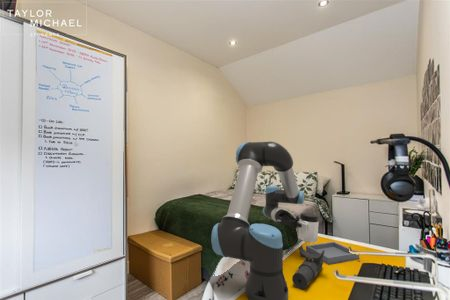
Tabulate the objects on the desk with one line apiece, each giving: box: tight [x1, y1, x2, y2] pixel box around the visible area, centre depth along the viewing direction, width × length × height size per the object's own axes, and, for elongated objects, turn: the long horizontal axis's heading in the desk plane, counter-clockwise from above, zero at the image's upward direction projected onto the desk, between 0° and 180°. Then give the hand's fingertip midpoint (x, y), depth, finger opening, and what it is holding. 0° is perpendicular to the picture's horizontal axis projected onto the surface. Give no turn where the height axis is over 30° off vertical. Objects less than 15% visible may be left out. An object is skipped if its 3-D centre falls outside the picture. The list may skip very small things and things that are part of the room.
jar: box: [297, 212, 320, 244], centre depth 114 cm, size 9×8×12 cm
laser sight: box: [291, 245, 325, 290], centre depth 96 cm, size 10×22×10 cm, turn 143°
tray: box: [305, 241, 360, 266], centre depth 116 cm, size 18×16×3 cm
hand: (307, 227), depth 109 cm, fingers closed on jar
